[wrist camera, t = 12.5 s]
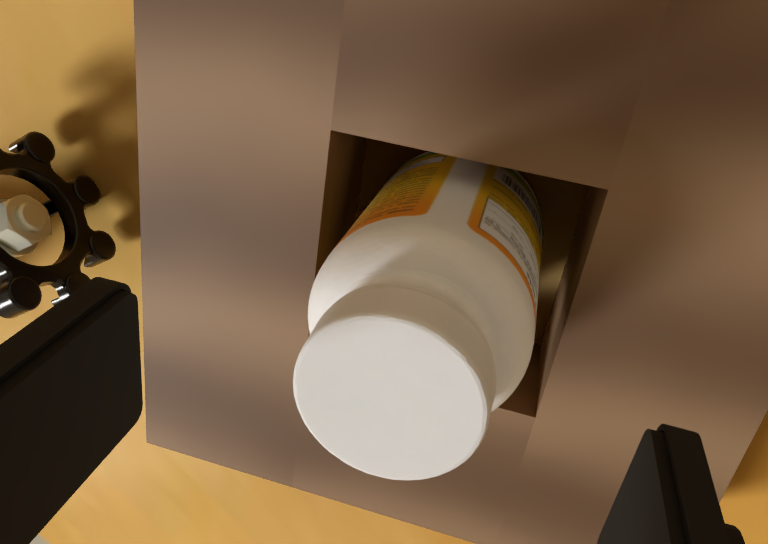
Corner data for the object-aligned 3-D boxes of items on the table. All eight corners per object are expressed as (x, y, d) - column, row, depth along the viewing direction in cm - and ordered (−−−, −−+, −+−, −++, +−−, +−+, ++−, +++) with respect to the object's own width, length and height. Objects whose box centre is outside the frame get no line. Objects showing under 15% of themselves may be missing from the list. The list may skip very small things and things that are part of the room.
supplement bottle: (364, 272, 23) (244, 459, 14) (396, 123, 20) (273, 243, 12) (515, 318, 22) (483, 543, 14) (568, 169, 20) (567, 332, 11)
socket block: (211, -132, 19) (129, -153, 15) (899, -26, 16) (994, -22, 12) (201, 379, 27) (146, 442, 23) (652, 508, 24) (666, 602, 21)
